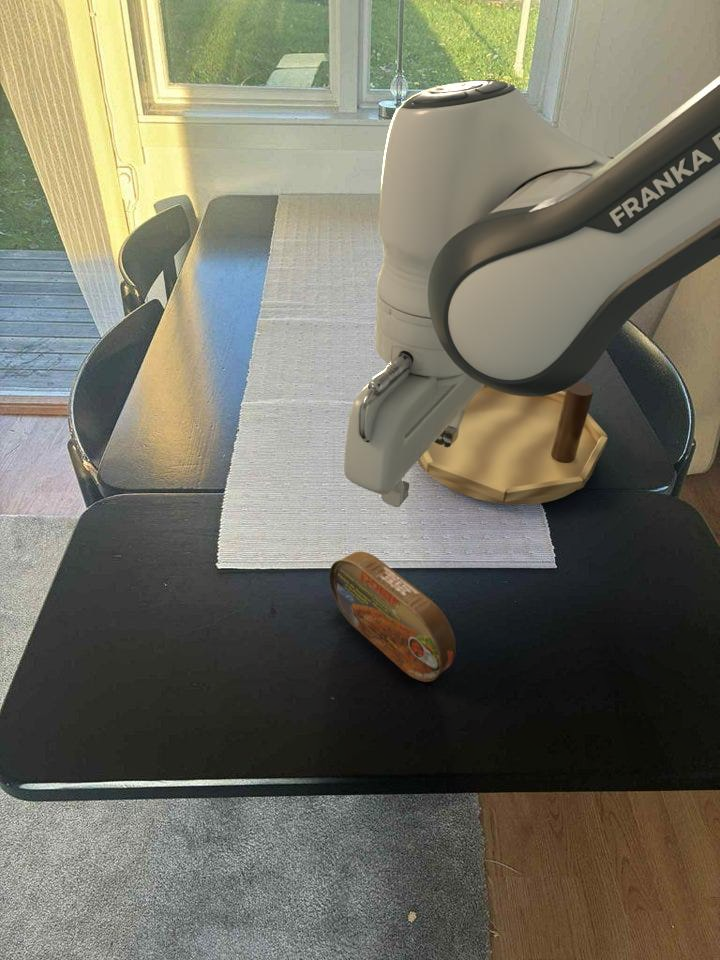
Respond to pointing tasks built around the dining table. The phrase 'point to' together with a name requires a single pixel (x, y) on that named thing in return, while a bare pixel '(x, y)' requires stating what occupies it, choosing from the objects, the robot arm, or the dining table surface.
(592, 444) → the tray
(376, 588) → the tin
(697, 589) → the dining table surface
